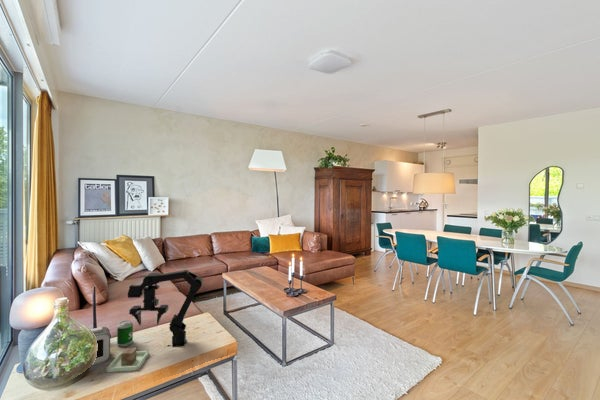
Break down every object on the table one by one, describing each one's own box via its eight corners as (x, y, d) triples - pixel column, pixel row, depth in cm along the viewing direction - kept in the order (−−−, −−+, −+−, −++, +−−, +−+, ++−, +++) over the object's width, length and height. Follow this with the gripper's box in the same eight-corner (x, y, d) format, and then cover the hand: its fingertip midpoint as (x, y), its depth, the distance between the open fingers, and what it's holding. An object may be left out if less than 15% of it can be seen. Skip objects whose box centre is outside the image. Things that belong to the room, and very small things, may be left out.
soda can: (125, 348, 156) (125, 326, 155) (113, 346, 157) (114, 324, 157) (135, 341, 163) (136, 320, 163) (124, 339, 164) (124, 319, 164)
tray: (148, 354, 150) (148, 350, 150) (138, 370, 136) (138, 366, 136) (120, 355, 148) (120, 352, 148) (106, 372, 134) (106, 368, 134)
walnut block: (136, 359, 145) (136, 347, 145) (132, 365, 140) (132, 353, 140) (125, 359, 144) (125, 348, 144) (121, 365, 140) (121, 353, 139)
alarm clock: (68, 371, 134) (68, 339, 134) (70, 360, 143) (70, 329, 143) (110, 360, 144) (110, 330, 144) (109, 350, 153) (109, 321, 153)
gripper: (171, 291, 167) (171, 317, 167) (137, 292, 164) (137, 319, 165) (165, 298, 156) (165, 326, 156) (129, 299, 153) (128, 328, 154)
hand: (149, 324), depth 158 cm, fingers open, 9 cm apart
